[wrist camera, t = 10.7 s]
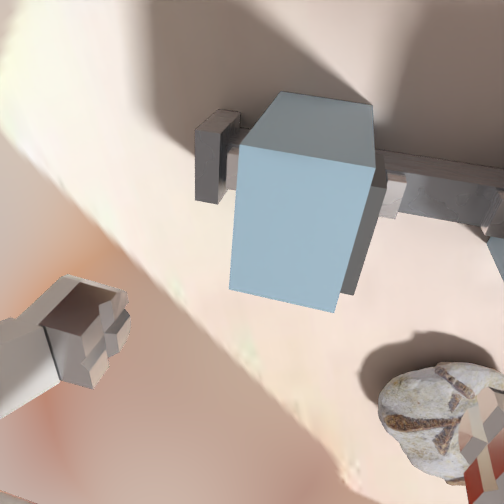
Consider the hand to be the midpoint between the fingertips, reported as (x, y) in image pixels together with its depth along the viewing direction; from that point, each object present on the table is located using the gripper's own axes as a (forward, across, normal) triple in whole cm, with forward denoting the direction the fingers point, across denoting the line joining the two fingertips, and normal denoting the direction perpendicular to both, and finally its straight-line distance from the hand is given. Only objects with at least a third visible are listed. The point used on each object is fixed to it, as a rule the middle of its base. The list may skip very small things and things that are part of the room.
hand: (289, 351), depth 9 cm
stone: (+15, -12, +18) cm, 26 cm away
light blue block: (+14, +1, +1) cm, 14 cm away
